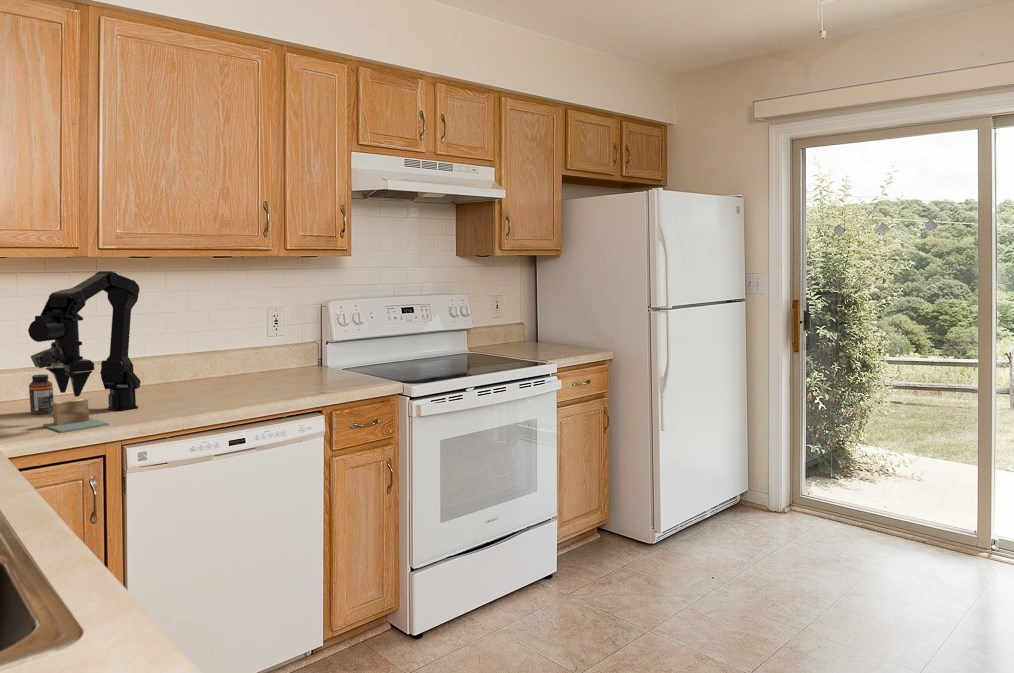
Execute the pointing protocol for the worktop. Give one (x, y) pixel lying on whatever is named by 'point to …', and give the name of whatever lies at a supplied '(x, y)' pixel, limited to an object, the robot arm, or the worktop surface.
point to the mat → (76, 425)
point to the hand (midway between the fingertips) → (69, 394)
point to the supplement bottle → (41, 394)
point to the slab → (70, 412)
